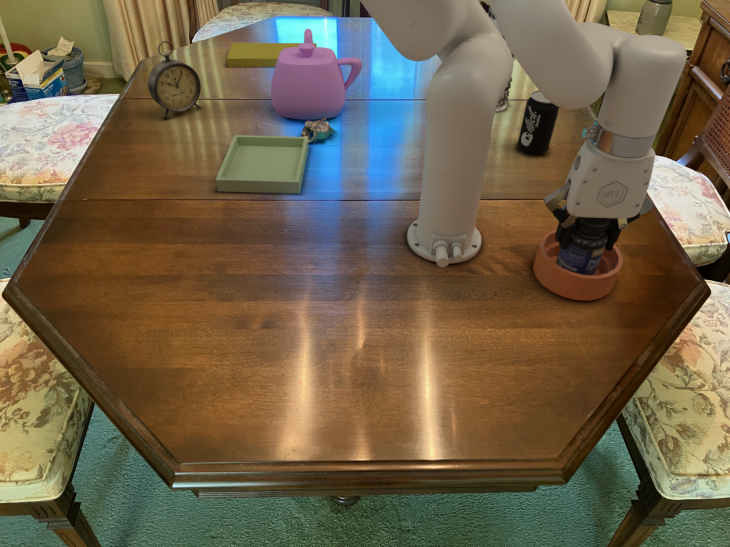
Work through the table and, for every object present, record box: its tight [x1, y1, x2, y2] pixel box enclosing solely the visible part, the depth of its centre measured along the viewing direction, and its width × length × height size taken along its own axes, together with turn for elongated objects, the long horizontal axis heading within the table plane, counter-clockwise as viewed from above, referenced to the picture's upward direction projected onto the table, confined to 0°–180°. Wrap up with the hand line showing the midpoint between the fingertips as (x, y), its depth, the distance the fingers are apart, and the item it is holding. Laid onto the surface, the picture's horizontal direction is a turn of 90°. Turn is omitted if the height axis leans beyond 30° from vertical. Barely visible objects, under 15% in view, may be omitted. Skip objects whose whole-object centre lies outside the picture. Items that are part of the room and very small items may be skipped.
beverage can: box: [517, 90, 561, 156], centre depth 115 cm, size 7×7×12 cm
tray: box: [215, 134, 310, 195], centre depth 110 cm, size 18×16×3 cm
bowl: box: [532, 228, 624, 302], centre depth 87 cm, size 12×12×5 cm
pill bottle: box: [556, 217, 609, 275], centre depth 85 cm, size 6×6×11 cm
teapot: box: [270, 28, 363, 120], centre depth 129 cm, size 23×21×15 cm
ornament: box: [300, 118, 335, 144], centre depth 120 cm, size 8×7×4 cm
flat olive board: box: [226, 42, 318, 68], centre depth 154 cm, size 12×2×24 cm
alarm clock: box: [147, 40, 202, 120], centre depth 124 cm, size 11×5×16 cm, turn 131°
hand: (583, 243), depth 84 cm, fingers closed on pill bottle, 6 cm apart
